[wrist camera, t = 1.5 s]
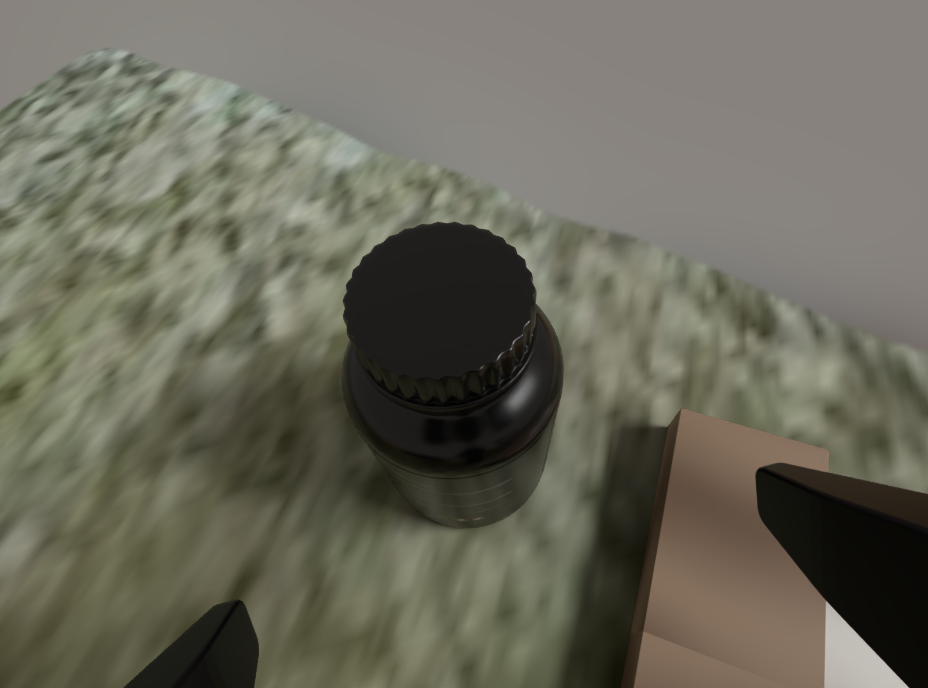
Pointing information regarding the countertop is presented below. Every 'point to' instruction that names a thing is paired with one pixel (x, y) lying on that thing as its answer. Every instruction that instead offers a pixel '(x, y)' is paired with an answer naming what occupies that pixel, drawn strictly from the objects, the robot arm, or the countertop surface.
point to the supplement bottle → (452, 371)
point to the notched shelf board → (733, 577)
